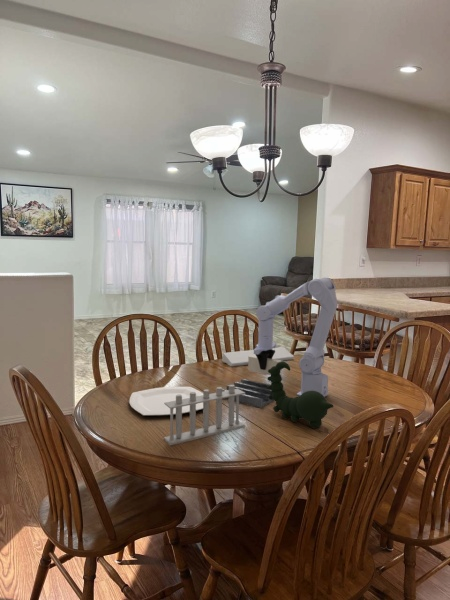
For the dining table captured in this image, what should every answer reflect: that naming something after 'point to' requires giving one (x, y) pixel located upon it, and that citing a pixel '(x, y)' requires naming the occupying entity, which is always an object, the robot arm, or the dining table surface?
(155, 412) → the plate
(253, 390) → the grey grooved block
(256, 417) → the dining table surface
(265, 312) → the robot arm
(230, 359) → the decorative molding
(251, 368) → the clay strip
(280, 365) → the toy figurine
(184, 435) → the test tube rack
